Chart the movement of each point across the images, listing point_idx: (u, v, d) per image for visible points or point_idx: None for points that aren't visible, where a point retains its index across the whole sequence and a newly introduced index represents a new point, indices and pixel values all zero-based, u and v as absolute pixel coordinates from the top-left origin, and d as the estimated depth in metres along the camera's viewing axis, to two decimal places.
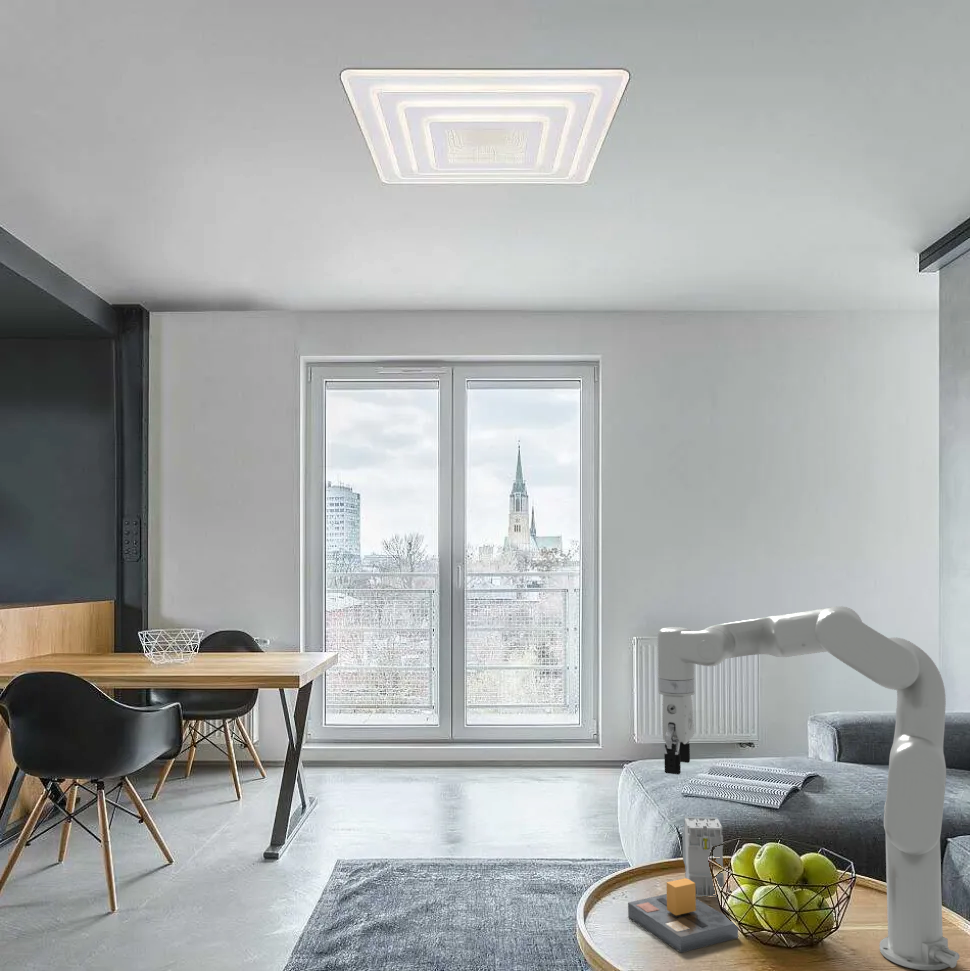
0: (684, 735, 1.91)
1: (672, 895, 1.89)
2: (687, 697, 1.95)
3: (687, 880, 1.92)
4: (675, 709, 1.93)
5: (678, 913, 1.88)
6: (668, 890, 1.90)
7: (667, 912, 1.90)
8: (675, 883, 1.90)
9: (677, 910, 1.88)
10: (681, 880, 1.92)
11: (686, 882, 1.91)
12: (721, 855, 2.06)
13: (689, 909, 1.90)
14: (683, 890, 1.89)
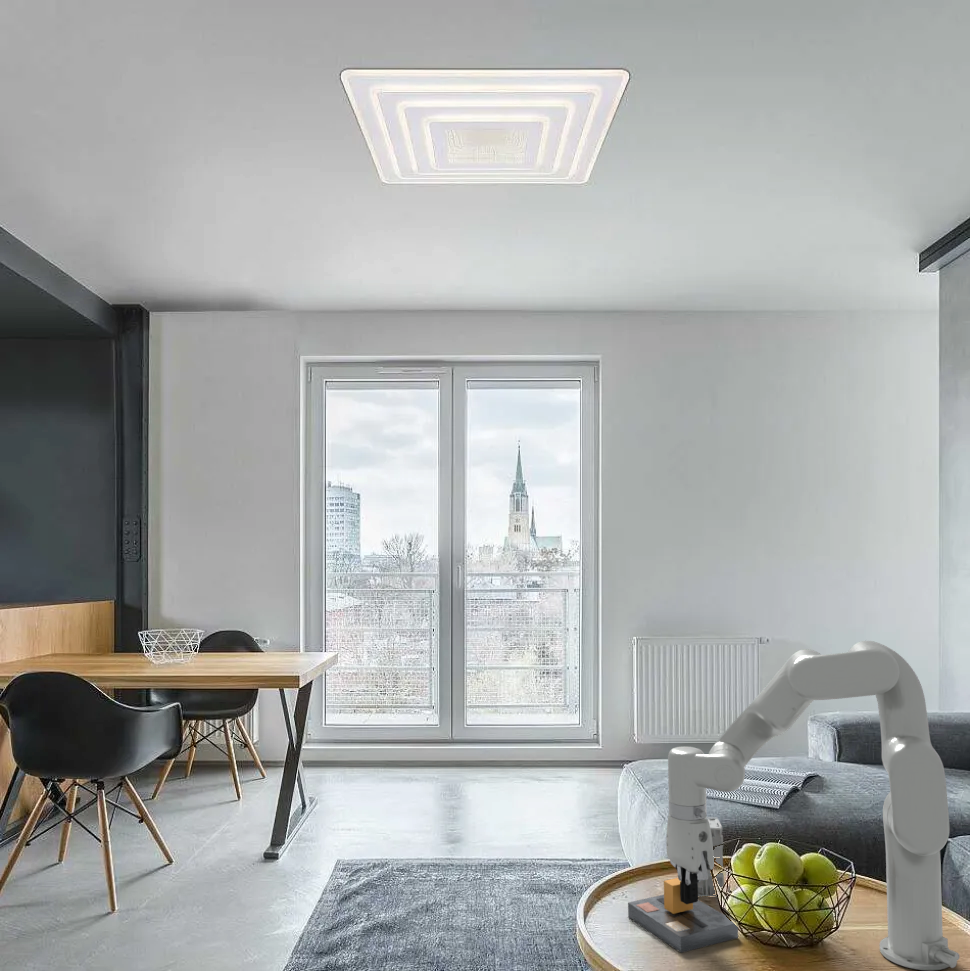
0: None
1: (669, 893, 1.90)
2: None
3: None
4: None
5: (675, 911, 1.89)
6: (665, 889, 1.91)
7: (667, 912, 1.90)
8: (673, 881, 1.91)
9: (674, 908, 1.89)
10: None
11: None
12: (721, 855, 2.06)
13: (686, 907, 1.90)
14: None
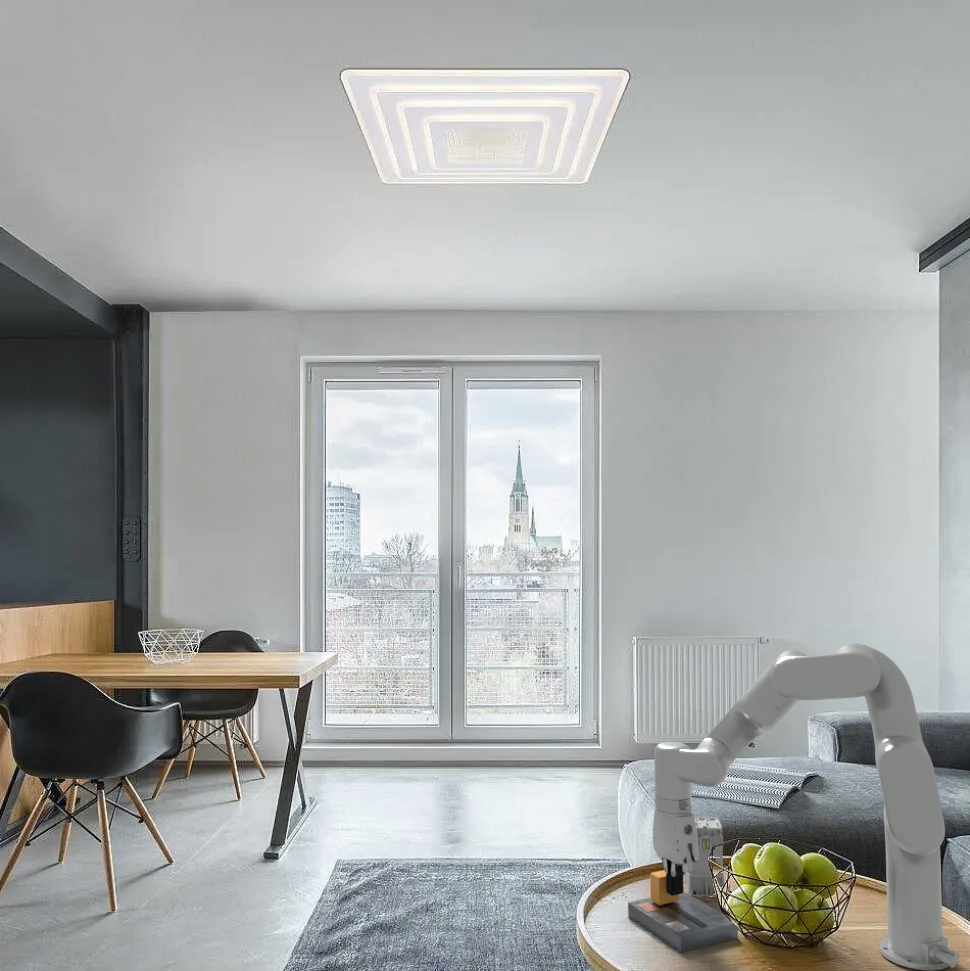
0: None
1: (655, 885, 1.94)
2: None
3: None
4: None
5: (661, 903, 1.93)
6: (652, 881, 1.95)
7: (667, 912, 1.90)
8: (659, 874, 1.95)
9: (660, 900, 1.93)
10: None
11: None
12: (721, 855, 2.06)
13: (672, 899, 1.95)
14: None
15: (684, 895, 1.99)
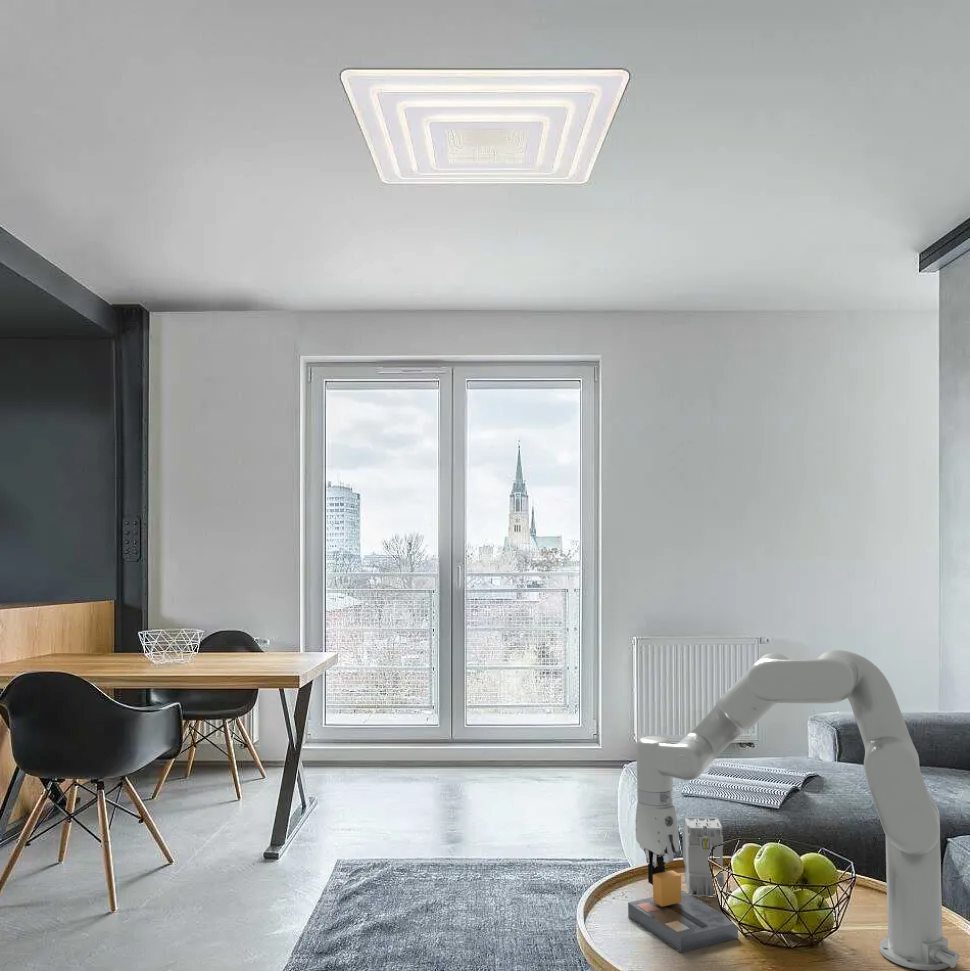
0: (678, 844, 1.95)
1: (658, 887, 1.93)
2: None
3: (673, 872, 1.96)
4: None
5: (664, 904, 1.93)
6: (654, 882, 1.95)
7: (667, 912, 1.90)
8: (661, 875, 1.95)
9: (663, 901, 1.93)
10: (667, 872, 1.96)
11: (672, 874, 1.95)
12: (721, 855, 2.06)
13: (675, 900, 1.94)
14: (669, 882, 1.93)
15: (684, 895, 1.99)
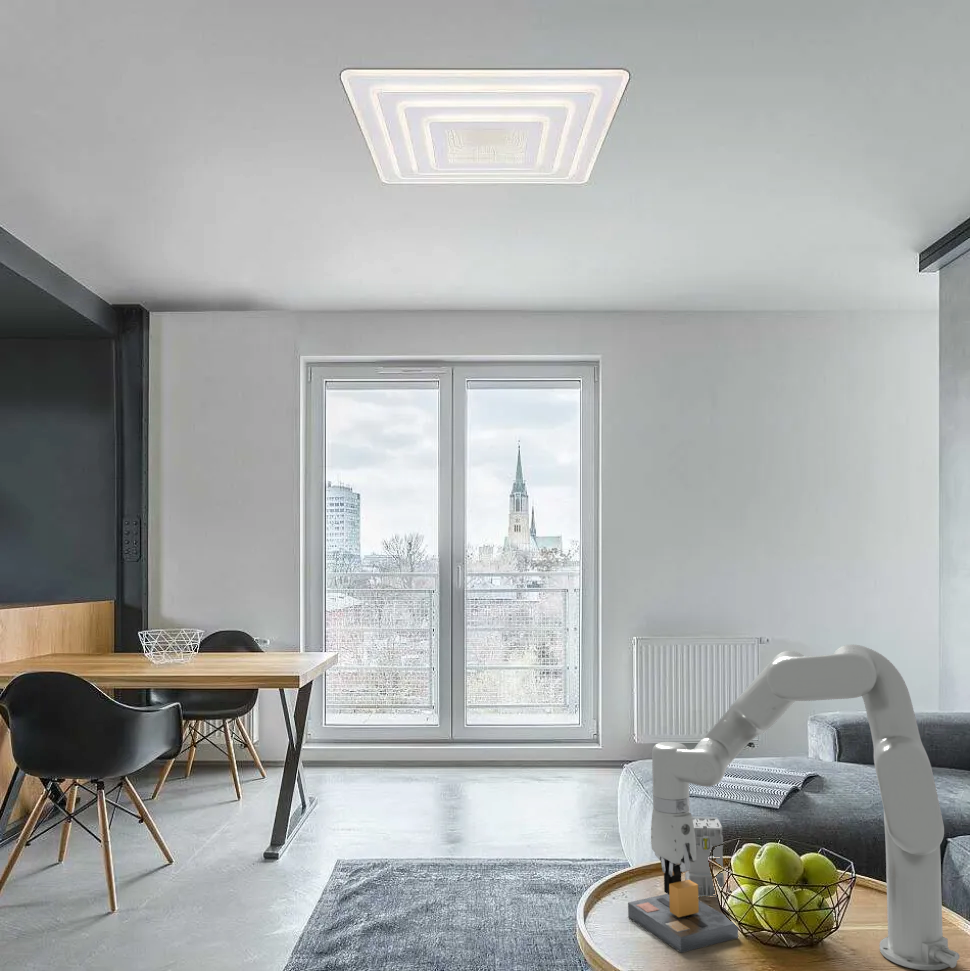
0: None
1: (675, 897, 1.88)
2: None
3: (690, 882, 1.91)
4: None
5: (681, 915, 1.87)
6: (670, 892, 1.90)
7: (667, 912, 1.90)
8: (678, 885, 1.89)
9: (680, 912, 1.87)
10: (684, 882, 1.91)
11: (689, 883, 1.90)
12: (721, 855, 2.06)
13: (692, 911, 1.89)
14: (686, 892, 1.88)
15: None
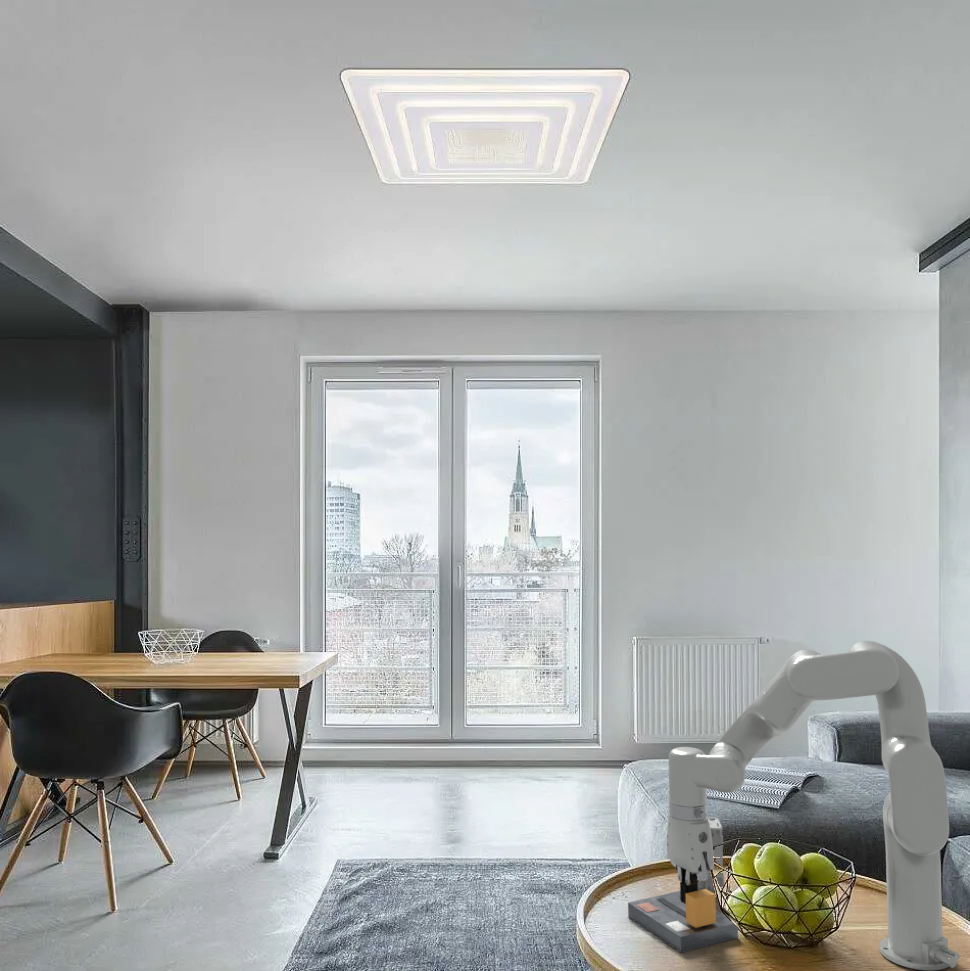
0: None
1: (691, 907, 1.83)
2: None
3: (707, 891, 1.86)
4: None
5: (698, 925, 1.83)
6: (687, 902, 1.85)
7: (667, 912, 1.90)
8: (695, 894, 1.85)
9: (697, 922, 1.83)
10: (700, 891, 1.86)
11: (706, 893, 1.85)
12: (721, 855, 2.06)
13: (709, 921, 1.84)
14: (703, 902, 1.83)
15: None
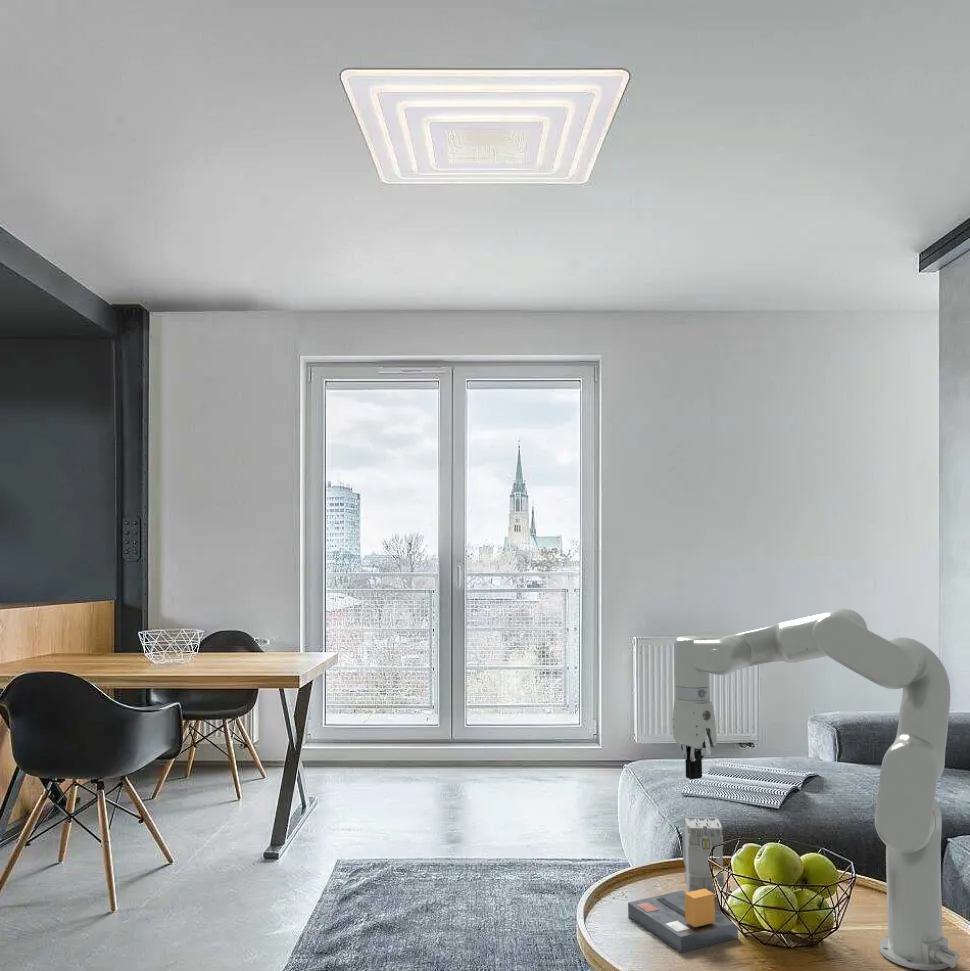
0: None
1: (690, 906, 1.84)
2: None
3: (706, 891, 1.86)
4: None
5: (697, 925, 1.83)
6: (686, 901, 1.85)
7: (667, 912, 1.90)
8: (694, 894, 1.85)
9: (696, 922, 1.83)
10: (700, 891, 1.86)
11: (705, 892, 1.85)
12: (721, 855, 2.06)
13: (708, 920, 1.84)
14: (702, 901, 1.84)
15: (684, 895, 1.99)
